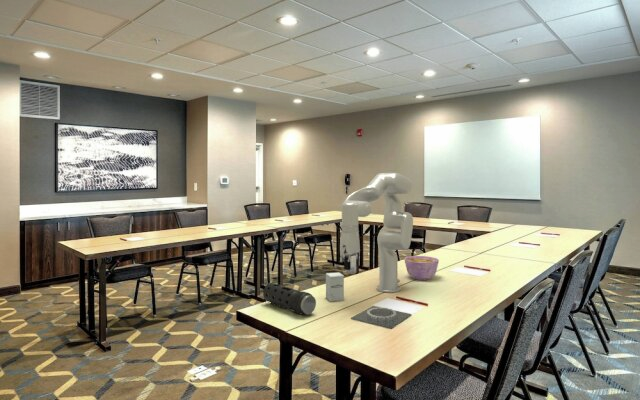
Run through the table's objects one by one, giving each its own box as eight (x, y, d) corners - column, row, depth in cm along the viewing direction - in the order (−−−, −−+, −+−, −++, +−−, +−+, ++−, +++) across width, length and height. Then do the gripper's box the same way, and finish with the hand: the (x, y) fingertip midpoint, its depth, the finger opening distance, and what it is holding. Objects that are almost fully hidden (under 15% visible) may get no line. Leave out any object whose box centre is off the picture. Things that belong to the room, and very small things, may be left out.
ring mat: (373, 307, 180) (373, 302, 180) (411, 315, 169) (411, 310, 169) (350, 319, 165) (350, 314, 165) (391, 329, 154) (391, 323, 154)
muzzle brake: (278, 301, 192) (278, 280, 191) (317, 314, 171) (317, 291, 171) (262, 305, 185) (262, 284, 185) (301, 320, 165) (301, 296, 164)
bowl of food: (398, 276, 237) (397, 257, 237) (426, 273, 243) (426, 254, 243) (415, 284, 218) (415, 263, 218) (445, 281, 224) (446, 261, 223)
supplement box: (329, 302, 189) (329, 276, 188) (325, 297, 196) (325, 272, 195) (344, 300, 191) (344, 275, 190) (339, 296, 198) (339, 271, 197)
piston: (349, 270, 182) (349, 253, 181) (358, 271, 179) (358, 254, 178) (343, 272, 178) (343, 255, 178) (352, 274, 175) (352, 256, 174)
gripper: (353, 226, 186) (353, 264, 187) (332, 231, 173) (333, 271, 174) (366, 227, 182) (367, 265, 183) (346, 232, 168) (347, 273, 169)
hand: (350, 268), depth 178 cm, fingers closed on piston, 5 cm apart
